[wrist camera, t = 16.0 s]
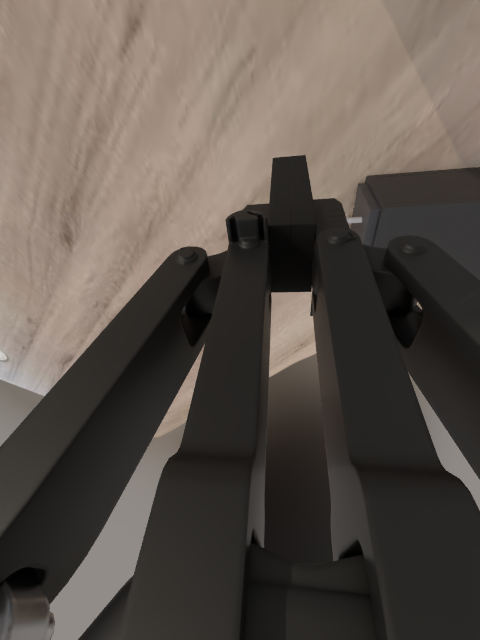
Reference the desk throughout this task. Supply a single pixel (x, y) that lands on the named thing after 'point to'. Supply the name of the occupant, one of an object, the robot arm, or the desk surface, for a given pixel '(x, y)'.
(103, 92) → the desk surface
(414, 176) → the small drawer cabinet
